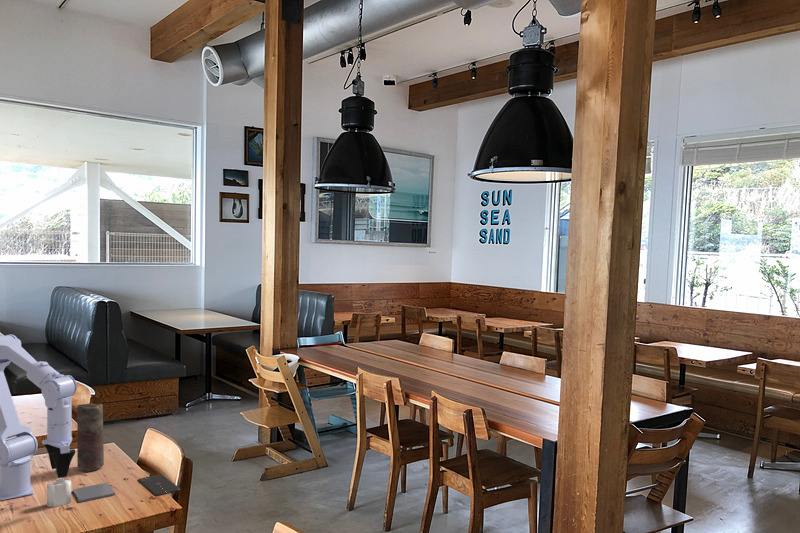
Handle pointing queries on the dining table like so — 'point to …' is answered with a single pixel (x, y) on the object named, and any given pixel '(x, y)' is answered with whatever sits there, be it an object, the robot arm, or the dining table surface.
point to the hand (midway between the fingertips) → (59, 472)
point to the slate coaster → (93, 492)
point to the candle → (90, 437)
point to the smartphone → (158, 485)
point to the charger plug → (58, 493)
